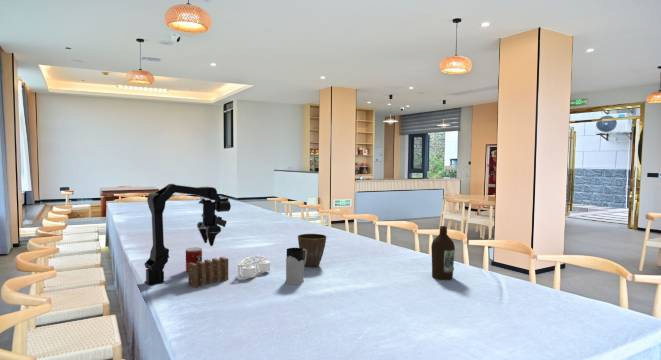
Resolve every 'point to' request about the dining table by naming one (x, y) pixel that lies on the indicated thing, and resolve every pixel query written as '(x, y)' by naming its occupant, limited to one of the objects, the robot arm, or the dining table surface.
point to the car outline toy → (252, 267)
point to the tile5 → (224, 268)
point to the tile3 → (209, 271)
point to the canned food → (193, 255)
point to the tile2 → (201, 273)
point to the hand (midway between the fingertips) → (208, 244)
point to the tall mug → (295, 265)
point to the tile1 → (192, 275)
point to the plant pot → (312, 248)
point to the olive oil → (442, 256)
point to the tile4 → (216, 270)
